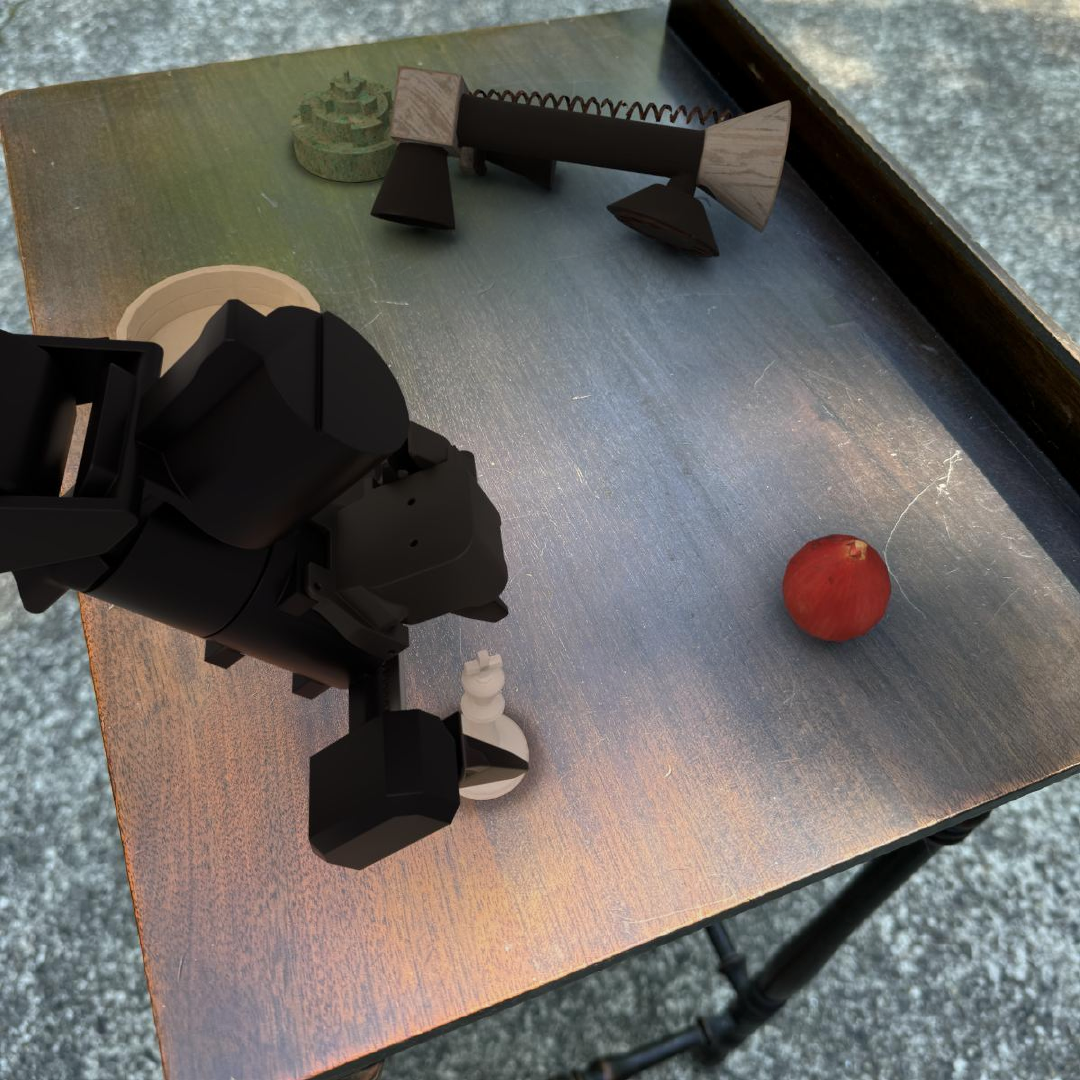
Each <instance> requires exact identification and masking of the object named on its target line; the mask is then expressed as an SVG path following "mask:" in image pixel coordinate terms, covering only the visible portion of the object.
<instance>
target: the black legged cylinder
mask: <svg viewBox="0 0 1080 1080" xmlns="http://www.w3.org/2000/svg"><path fill="white" fill-rule="evenodd" d="M396 74H397V75H396V83H395V90H394V91H395V92H394V99H393V101H394V106H393V114H392V123H391V131H390V137H391V138H392V139H393V140H394V141H395V143H396V145H397V148H396V152H395V154H394V157H393V159H392V162H391V164H390V166H389V169H388V171H387V173H386V176H385V177H383V180H382V184H380V185H381V186H380V188H379V191H378V193H377V195H376V198H375V200H374V203H373V205H372V208H371V210H370V213H369V215H370V216H372V217H374V218H376V219H380V220H383V221H386V222H391V223H395V224H400V225H403V226H410V227H416V228H422V229H427V230H437V231H456V230H457V228H456V227H457V226H456V216H455V210H454V209H455V208H454V200H453V194H452V186H451V177H450V169H449V162H448V161H449V160H448V157H449V158H456V159H458V168H459V169H460V171H461V172H462V173H463V174H466V175H467V174H468V175H473V176H474V175H475V176H477V175H478V177H483V178H484V177H485V176H486V175H487V174H488V167H487V164H486V162H488V163H490V164H493V165H494V166H497V167H500V168H501V169H505V170H507V171H509V172H511V173H513V174H516V175H517V176H521V177H523V178H524V179H527V180H529V181H532V182H534V183H536V184H539V185H541V186H543V187H545V188H548V189H550V190H552V188H553V184H554V179H555V174H556V169H557V163H558V162H563V163H569V164H576V165H582V166H587V167H588V166H589V167H595V168H600V169H607V170H608V169H609V170H613V171H614V170H615V171H621V172H628V173H633V174H635V173H636V174H640V175H648V176H655V177H662V178H666V179H669V180H668V182H667V183H666V184H663V183H658V182H657V183H652V184H651V185H648V186H646V187H643V188H642V189H639V190H638V191H635V192H633V193H632V194H629V195H627V196H625V197H622V198H620V199H618V200H616V201H614V202H612V203H610V204H608V205H606V207H605V208H606V210H607V211H608V213H610V214H612V216H613V217H614V218H615V219H616V220H617V221H618V222H619V223H621V224H623V225H624V226H626V227H628V228H630V229H631V230H633V231H635V232H637V233H639V234H640V235H643V236H644V237H647V238H648V239H652V240H654V241H656V242H657V243H660V244H662V245H665V246H667V247H670V248H672V249H675V250H677V251H681V252H684V253H686V254H690V255H692V256H693V255H694V256H697V257H701V258H706V259H710V258H717V257H718V258H719V257H720V255H721V253H720V250H719V247H718V243H717V241H716V238H715V235H714V233H713V229H712V226H711V223H710V220H709V217H708V213H707V211H706V208H705V205H704V203H703V202H702V201H701V200H699V199H698V198H697V197H695V195H696V191H697V188H698V189H699V190H701V191H702V192H704V194H706V195H707V196H709V197H710V198H711V199H713V200H714V201H716V202H717V203H718V204H720V205H721V206H723V208H725V209H727V210H728V211H730V212H731V213H732V214H734V215H735V216H736V217H738V218H739V219H740V220H741V221H742V222H744V223H746V224H747V225H748V226H750V227H751V228H752V229H754V230H755V231H756V232H758V233H760V234H762V233H763V232H764V231H765V228H766V227H767V225H768V222H769V220H770V216H771V214H772V211H773V208H774V204H775V202H776V197H777V194H778V190H779V186H780V181H781V178H782V173H783V169H784V163H785V160H786V159H785V158H786V153H787V147H788V142H789V135H790V127H791V119H792V118H791V117H792V103H791V100H789V99H788V100H784V101H781V102H778V103H775V104H772V105H769V106H765V107H763V108H759V109H757V110H754V111H751V112H748V113H746V112H744V111H743V112H739V113H737V115H736V117H734V115H733V112H732V111H731V110H730V109H728V108H727V109H725V110H723V111H722V113H721V114H720V116H719V114H718V111H717V109H715V108H714V107H710V108H709V109H708V110H707V112H706V113H705V115H704V114H703V110H702V108H701V107H700V106H698V105H697V106H694V107H693V108H692V109H691V111H690V112H689V113H688V111H687V108H686V106H685V105H684V104H681V105H679V106H678V107H677V108H676V109H675V111H674V113H673V107H672V106H671V104H667V103H664V104H663V105H661V107H660V108H659V110H658V106H657V105H656V103H655V102H648V104H647V105H646V107H645V109H644V108H643V106H642V103H641V102H640V101H635V102H633V103H632V104H631V106H630V107H629V106H628V104H627V102H626V101H624V100H623V99H621V100H619V101H617V104H616V106H614V103H613V101H612V99H610V98H608V97H606V98H604V99H603V100H602V101H601V104H600V103H599V101H598V99H597V98H596V97H595V96H591V97H589V98H588V99H587V100H586V102H585V100H584V98H583V97H582V96H580V95H575V96H574V97H573V98H572V100H571V98H570V97H569V96H568V95H565V94H564V95H563V94H562V95H560V97H558V100H557V98H556V96H555V95H554V93H552V92H548V93H546V95H544V96H543V98H542V96H541V95H540V93H539V92H538V91H537V90H534V91H532V92H530V93H531V94H530V96H529V95H528V94H527V92H526V91H524V90H522V89H521V90H518V91H517V92H516V93H515V94H514V93H513V92H512V91H511V90H510V89H504V91H503V92H502V94H501V93H500V91H496V90H495V89H494V88H491V89H489V90H488V92H487V93H486V92H485V91H484V90H482V89H480V88H477V89H475V90H474V92H473V93H472V91H470V90H469V87H468V85H467V83H466V81H465V79H464V77H463V75H462V74H460V73H459V74H458V73H452V72H444V71H439V70H432V69H426V68H420V67H413V66H408V65H398V67H397V73H396ZM479 94H481V95H482V96H478V95H479ZM493 95H495V96H496V97H497V99H495V98H492V97H493ZM507 95H508V96H509V97H510V100H511V101H509V100H505V99H506V96H507ZM521 96H522V97H523V99H524V101H525V103H522V102H521V103H520V102H519V100H520V98H521ZM535 97H536V98H537V101H538V103H539V105H536V104H532V101H533V98H535ZM549 99H551V101H552V102H551V103H552V106H553V107H548V106H546V104H547V102H548V101H549ZM564 99H565V103H566V108H567V109H560V108H559V106H561V104H562V102H563V101H564ZM577 102H579V103H580V107H581V111H582V112H581V111H574V109H575V106H576V104H577ZM591 103H593V104H594V105H595V108H596V114H595V113H588V111H589V108H590V106H591ZM606 105H608V107H609V113H610V116H608V115H602V109H603V108H604V107H605V106H606ZM621 106H622V107H623V108H624V107H626V108H627V109H628V110H627V111H626V113H625V116H626V117H625V118H621V117H616V116H617V114H618V113H619V110H620V108H621ZM636 108H637V109H638V114H639V120H633V119H631V118H632V115H633V113H634V111H635V109H636ZM651 109H652V111H653V114H654V115H653V116H654V119H655V122H654V123H653V122H647V121H646V120H647V117H648V114H649V112H650V110H651ZM665 110H668V111H669V112H670V113H669V123H671V124H675V123H676V120H677V119H678V116H679V114H680V113H681V111H682V114H683V116H684V117H686V123H685V125H689V124H690V123H691V121H692V119H693V117H694V115H695V114H696V113H697V115H698V120H699V124H700V125H702V126H705V125H706V123H705V122H706V121H707V120H708V119H709V118H710V116H711V115H713V120H714V124H713V125H710V126H708V127H707V128H705V129H694V128H686V127H680V126H673V125H668V124H660V122H661V120H662V117H663V114H664V111H665ZM726 116H728V120H724V119H725V117H726Z"/></svg>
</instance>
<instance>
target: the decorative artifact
mask: <svg viewBox="0 0 1080 1080" xmlns="http://www.w3.org/2000/svg"><path fill="white" fill-rule="evenodd" d="M342 73H343V76H341V77H340V76H339V77H336V76H334V77H333V78H331V79H330V82H329V86H328V87H325V88H323V89H321V90H316V89H312V88H309V89H307V90H306V91H304V93H303V94H302V95H301V98H300V99H299V102H298V103H299V105H298V106H299V108H297V110H296V111H295V112H294V114H293V116H292V118H291V122H290V123H291V125H290V126H291V133H292V138H293V139H292V140H293V145H294V152H295V157H296V160H297V161H298V163H299V165H300V166H301V167H303V168H304V169H305V170H307V171H308V172H309V173H311V174H313V175H315V176H316V177H320V178H323V179H326V180H330V181H335V182H343V183H360V182H369V181H375V180H378V179H382V178H385V176H386V173H387V171H388V169H389V166H390V164H391V162H392V159H393V157H394V154H395V152H396V148H397V145H396V143H395V141H394V140H393V139H392V138H391V137H390V131H391V123H392V114H393V106H394V100H393V96H392V95H393V94H392V90H391V89H390V88H389V87H387V86H386V85H383V84H381V83H379V82H375V81H373V80H368V79H366V78H363V77H361V76H350V70H348V69H343V70H342Z"/></svg>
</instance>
